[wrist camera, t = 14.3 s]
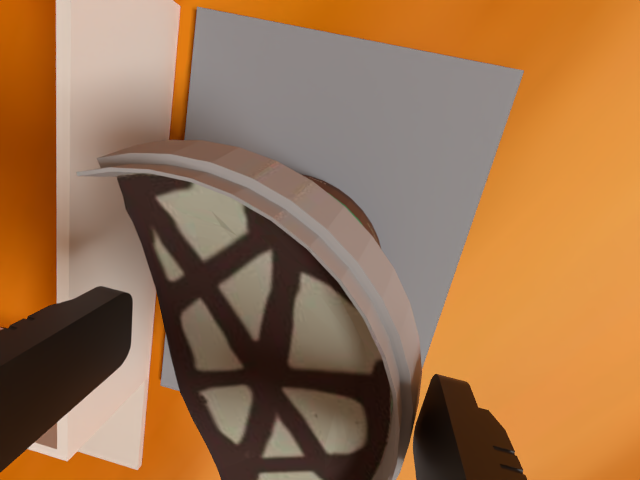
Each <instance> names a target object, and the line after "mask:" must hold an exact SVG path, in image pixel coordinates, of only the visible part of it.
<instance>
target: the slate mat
mask: <svg viewBox="0 0 640 480" xmlns="http://www.w3.org/2000/svg"><path fill="white" fill-rule="evenodd" d="M523 72H524V71H523V70H518V69H513V68H508V67H502V66H497V65H492V64H487V63H482V62H477V61H472V60H467V59H462V58H456V57H451V56H446V55H441V54H436V53H431V52H426V51H421V50H416V49H410V48H405V47H400V46H395V45H390V44H385V43H380V42H375V41H370V40H364V39H359V38H354V37H349V36H344V35H339V34H334V33H329V32H323V31H318V30H313V29H308V28H303V27H298V26H293V25H288V24H283V23H277V22H272V21H267V20H262V19H257V18H252V17H247V16H242V15H237V14H231V13H226V12H221V11H216V10H211V9H206V8H201V7H197V15H196V25H195V36H194V46H193V56H192V67H191V77H190V87H189V98H188V108H187V118H186V128H185V139H184V140H203V141H208V142H214V143H219V144H224V145H230V146H235V147H240V148H243V149H245V150H248V151H251V152H253V153H256V154H259V155H262V156H264V157H267V158H270V159H273V160H275V161H278V162H279V163H281V164H283V165H285V166H287V167H288V168H290V169H292V170H294V171H295V172H297V173H299V174H303V175H308V176H311V177H314V178H317V179H320V180H323V181H325V182H327V183H329V184H331V185H333V186H334V187H336V188H338V189H340V190H341V191H342V192H344V193H345V194H346V195H348V196H349V197H350V198H351V199H352V200H353V201H354V202H355V203H356V204H357V205H358V206H359V207H360V208H361V209H362V210H363V211H364V213H365V214H366V216H367V217H368V219H369V220H370V222H371V223H372V225H373V227H374V229H375V232H376V234H377V236H378V239H379V242H380V246H381V250H382V251H383V253H384V254H385V256H386V257H387V259H388V260H389V261H390V263H391V264H392V266H393V267H394V269H395V271H396V273H397V276H398V278H399V280H400V282H401V284H402V286H403V289H404V291H405V293H406V295H407V297H408V299H409V302H410V304H411V308H412V312H413V316H414V319H415V323H416V327H417V331H418V335H419V340H420V352H421V365H422V367H423V364H424V361H425V358H426V355H427V353H428V350H429V347H430V344H431V341H432V338H433V335H434V332H435V329H436V326H437V323H438V320H439V317H440V315H441V312H442V309H443V306H444V303H445V300H446V297H447V294H448V291H449V288H450V285H451V282H452V280H453V277H454V274H455V271H456V268H457V265H458V262H459V259H460V256H461V253H462V250H463V247H464V245H465V242H466V239H467V236H468V233H469V230H470V227H471V224H472V221H473V218H474V215H475V212H476V209H477V207H478V204H479V201H480V198H481V195H482V192H483V189H484V186H485V183H486V180H487V177H488V174H489V172H490V169H491V166H492V163H493V160H494V157H495V154H496V151H497V148H498V145H499V142H500V139H501V137H502V134H503V131H504V128H505V125H506V122H507V119H508V116H509V113H510V110H511V107H512V104H513V101H514V99H515V96H516V93H517V90H518V87H519V84H520V81H521V78H522V75H523ZM161 386H164V387H167V388H171V389H174V390H178V391H180V390H179V387H178V384H177V379H176V375H175V371H174V367H173V363H172V359H171V355H170V351H169V346H168V341H167V337H166V335H165V345H164V356H163V366H162V376H161Z"/></svg>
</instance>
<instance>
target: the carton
mask: <svg viewBox="0 0 640 480" xmlns="http://www.w3.org/2000/svg"><path fill="white" fill-rule="evenodd" d="M179 18H180V5H178V4H177V3H176V2H174V1H173V0H56V201H57V303H61V302H65V301H68V300H72V299H74V298H76V297H78V296H80V295H82V294H84V293H86V292H88V291H90V290H92V289H94V288H96V287H98V286H103V287H107V288H111V289H115V290H119V291H123V292H127V293H129V294H130V295H131V296H132V299H133V311H132V336H131V347H130V351H129V353H128V356H127V358H126V359H125V361H124V362H123V364H122V365H121V366H120V367H119V368H118V369H117V370H116V371H115V372H114V373H113V374H111V375H110V376H109V377H108V378H107V379H106V380H105V381H103V382H102V383H101V384H100V385H99V386H98V387H97V388H96V389H94V390H93V391H92V392H91V393H90V394H89V395H88V396H86V397H85V398H84V399H83V400H82V401H81V402H80V403H79V404H77V405H76V406H75V407H74V408H73V409H72V410H71V411H69V412H68V413H67V414H66V415H65V416H64V417H63V418H62V419H60V420H59V421H58V422H57V423H56V424H55V425H54V426H52V427H51V428H50V429H49V430H48V431H47V432H46V433H45V434H43V435H42V436H41V437H40V438H39V439H38V440H37V441H35V442H34V443H33V444H32V445H31V446H30V447H29V448H27V449H30V450H33V451H36V452H39V453H42V454H46V455H49V456H52V457H55V458H58V459H62V460H65V461H68V460H69V459H70V458H71V457H72V456H73V455H74V454H75V453H76V452H77V451H78V452H81V453H84V454H88V455H91V456H94V457H97V458H101V459H104V460H107V461H110V462H114V463H117V464H120V465H123V466H126V467H130V468H133V469H136V470H138V469H139V467H140V466H141V465H142V453H143V441H144V429H145V417H146V406H147V394H148V382H149V370H150V359H151V347H152V335H153V323H154V312H155V300H156V288H155V285H154V282H153V278H152V275H151V272H150V269H149V266H148V263H147V260H146V257H145V254H144V250H143V247H142V244H141V241H140V239H139V237H138V234H137V232H136V229H135V227H134V224H133V222H132V220H131V218H130V217H129V215H128V213H127V211H126V209H125V204H124V199H123V195H122V192H121V189H120V186H119V183H118V180H117V177H93V176H77V173H76V172H81V171H87V170H93V169H99V168H100V165H99V163H98V160H97V158H98V157H101V156H104V155H107V154H110V153H113V152H116V151H119V150H122V149H125V148H128V147H131V146H134V145H138V144H144V143H150V142H156V141H162V140H169V135H170V123H171V112H172V100H173V88H174V76H175V65H176V53H177V41H178V29H179ZM2 329H4V328H1V327H0V330H2Z"/></svg>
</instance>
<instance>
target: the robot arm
mask: <svg viewBox="0 0 640 480" xmlns="http://www.w3.org/2000/svg"><path fill="white" fill-rule="evenodd" d="M132 311H133V299H132V296H131V295H130V294H129V293H127V292H123V291H119V290H115V289H111V288H107V287H103V286H98V287H96V288H94V289H92V290H90V291H88V292H86V293H84V294H82V295H80V296H78V297H76V298H74V299H72V300H68V301H65V302H61V303H57V304H54V305H50V306H48V307H46V308H44V309H42V310H40V311H38V312H36V313H34V314H32V315H30V316H28V318H27V319H22V320H20V321H18V322H16V323H14V324H12V325H10V327H9V328H8V329H7V328H4V329H2V330H0V472H1V471H3V470H4V469H5V468H6V467H7V466H8V465H9V464H10V463H12V462H13V461H14V460H15V459H16V458H17V457H18V456H20V455H21V454H22V453H23V452H24V451H25V450H26V449H27V448H29V447H30V446H31V445H32V444H33V443H34V442H35V441H37V440H38V439H39V438H40V437H41V436H42V435H43V434H45V433H46V432H47V431H48V430H49V429H50V428H51V427H52V426H54V425H55V424H56V423H57V422H58V421H59V420H60V419H62V418H63V417H64V416H65V415H66V414H67V413H68V412H69V411H71V410H72V409H73V408H74V407H75V406H76V405H77V404H79V403H80V402H81V401H82V400H83V399H84V398H85V397H86V396H88V395H89V394H90V393H91V392H92V391H93V390H94V389H96V388H97V387H98V386H99V385H100V384H101V383H102V382H103V381H105V380H106V379H107V378H108V377H109V376H110V375H111V374H113V373H114V372H115V371H116V370H117V369H118V368H119V367H120V366H121V365H122V364H123V362H124V361H125V359H126V358H127V356H128V353H129V351H130V347H131V336H132ZM514 452H515V451H514V449H513V446H512V444H511V442H510V440H509V437H508V435H507V433H506V431H505V429H504V428H503V427H502V426H501V425H500V423H499V422H498V421H497V420H496V419H495V418H494V416H493V415H492V414H491V413H490V412H489V410H485V409H482V408H478V406H477V403H476V401H475V398H474V395H473V393H472V390H471V388H470V385H469V384H468V383H467V382H465V381H461V380H457V379H454V378H450V377H446V376H442V375H438V374H435V375H434V376H433V377H432V379H431V382H430V385H429V387H428V390H427V393H426V396H425V399H424V402H423V405H422V408H421V411H420V414H419V416H418V419H417V422H416V426H415V431H414V438H413V453H414V462H415V470H416V479H417V480H527V478H526V476H525V475H523V469H522V467H521V464H520V462H519V460H518V458H517V456H515V455H514Z"/></svg>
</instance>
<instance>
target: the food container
mask: <svg viewBox="0 0 640 480" xmlns="http://www.w3.org/2000/svg"><path fill="white" fill-rule="evenodd" d="M97 160H98V163H99V165H100V168H99V169H93V170H87V171H81V172H76V173H77V176H93V177H117V180H118V183H119V186H120V189H121V192H122V195H123V199H124V204H125V209H126V211H127V213H128V215H129V217H130V218H131V220H132V222H133V224H134V227H135V229H136V232H137V234H138V237H139V239H140V241H141V244H142V247H143V250H144V254H145V257H146V260H147V263H148V266H149V269H150V272H151V275H152V278H153V282H154V285H155V288H156V292H157V296H158V300H159V304H160V309H161V313H162V318H163V323H164V327H165V332H166V337H167V341H168V346H169V351H170V355H171V359H172V363H173V367H174V371H175V375H176V379H177V384H178V387H179V390H180V393H181V395H182V397H183V399H184V401H185V403H186V406H187V408H188V410H189V412H190V415H191V417H192V419H193V421H194V423H195V424H196V426H197V428H198V430H199V432H200V434H201V436H202V438H203V439H204V441H205V443H206V445H207V447H208V449H209V451H210V453H211V455H212V458H213V460H214V462H215V464H216V466H217V469H218V472H219V474H220V477H221V480H396V478H397V477H398V475H399V473H400V470H401V467H402V464H403V461H404V458H405V455H406V452H407V449H408V446H409V442H410V438H411V434H412V429H413V425H414V420H415V416H416V412H417V407H418V403H419V394H420V385H421V376H422V365H421V352H420V340H419V335H418V331H417V327H416V323H415V319H414V316H413V312H412V308H411V304H410V302H409V299H408V297H407V295H406V293H405V291H404V289H403V286H402V284H401V282H400V280H399V278H398V276H397V273H396V271H395V269H394V267H393V266H392V264H391V263H390V261H389V260H388V259H387V257H386V256H385V254H384V253H383V251H382V250H381V246H380V242H379V239H378V236H377V234H376V232H375V229H374V227H373V225H372V223H371V222H370V220H369V219H368V217H367V216H366V214H365V213H364V211H363V210H362V209H361V208H360V207H359V206H358V205H357V204H356V203H355V202H354V201H353V200H352V199H351V198H350V197H349V196H348V195H346V194H345V193H344V192H342V191H341V190H340V189H338V188H336V187H334V186H333V185H331V184H329V183H327V182H325V181H323V180H320V179H317V178H314V177H311V176H308V175H303V174H299V173H297V172H295V171H294V170H292V169H290V168H288V167H287V166H285V165H283V164H281V163H279V162H278V161H275V160H273V159H270V158H267V157H264V156H262V155H259V154H256V153H253V152H251V151H248V150H245V149H243V148H240V147H235V146H230V145H224V144H219V143H214V142H208V141H203V140H162V141H156V142H150V143H144V144H138V145H134V146H131V147H128V148H125V149H122V150H119V151H116V152H113V153H110V154H107V155H104V156H101V157H98V158H97Z"/></svg>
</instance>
